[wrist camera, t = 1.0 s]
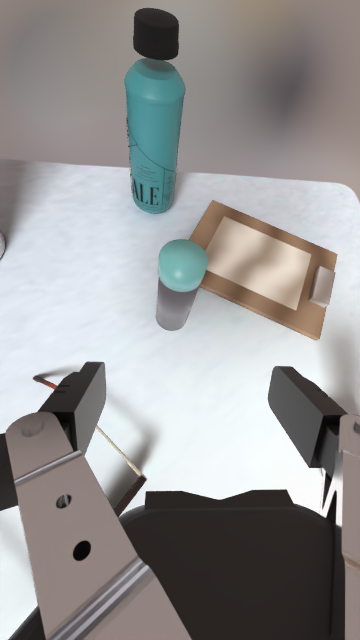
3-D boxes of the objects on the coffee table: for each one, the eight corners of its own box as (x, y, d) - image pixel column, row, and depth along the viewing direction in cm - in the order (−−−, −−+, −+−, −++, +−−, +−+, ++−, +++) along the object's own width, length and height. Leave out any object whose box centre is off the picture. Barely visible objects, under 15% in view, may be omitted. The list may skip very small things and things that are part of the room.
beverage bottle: (171, 193, 40) (191, 3, 22) (173, 223, 38) (198, 36, 19) (132, 191, 39) (119, -9, 21) (131, 221, 37) (116, 24, 19)
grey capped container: (149, 322, 31) (150, 266, 20) (164, 297, 32) (172, 232, 21) (179, 336, 30) (196, 287, 19) (192, 310, 32) (215, 251, 21)
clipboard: (170, 273, 34) (171, 265, 32) (211, 203, 40) (214, 194, 39) (315, 340, 32) (324, 336, 31) (333, 257, 39) (342, 250, 37)
